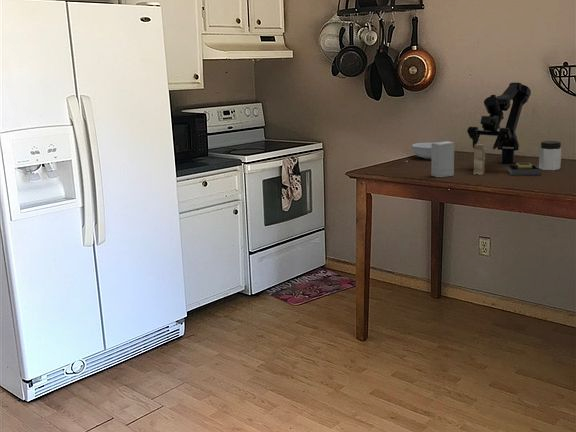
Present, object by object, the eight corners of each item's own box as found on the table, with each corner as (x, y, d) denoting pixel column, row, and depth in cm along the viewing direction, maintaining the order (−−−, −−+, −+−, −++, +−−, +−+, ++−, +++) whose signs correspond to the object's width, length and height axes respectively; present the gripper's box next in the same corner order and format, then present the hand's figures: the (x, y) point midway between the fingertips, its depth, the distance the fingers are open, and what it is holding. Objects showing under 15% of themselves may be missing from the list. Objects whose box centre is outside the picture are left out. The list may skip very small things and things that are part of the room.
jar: (551, 171, 281) (552, 144, 278) (535, 168, 288) (536, 142, 285) (563, 168, 286) (565, 141, 283) (547, 166, 292) (549, 140, 289)
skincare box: (446, 173, 284) (447, 140, 280) (454, 176, 278) (455, 142, 275) (430, 175, 281) (430, 142, 278) (438, 178, 276) (438, 143, 272)
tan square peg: (476, 172, 284) (477, 143, 280) (484, 173, 281) (485, 144, 278) (473, 174, 281) (474, 144, 278) (481, 174, 279) (482, 145, 276)
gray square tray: (506, 170, 286) (507, 161, 285) (534, 170, 284) (535, 161, 283) (511, 175, 274) (512, 166, 273) (541, 175, 272) (541, 166, 271)
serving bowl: (457, 160, 318) (458, 146, 316) (415, 162, 318) (415, 148, 317) (448, 154, 338) (448, 141, 336) (408, 155, 338) (408, 142, 337)
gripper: (469, 108, 287) (458, 135, 282) (510, 109, 276) (499, 137, 270) (475, 124, 295) (465, 151, 289) (516, 126, 284) (505, 153, 278)
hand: (483, 148), depth 282 cm, fingers open, 9 cm apart
